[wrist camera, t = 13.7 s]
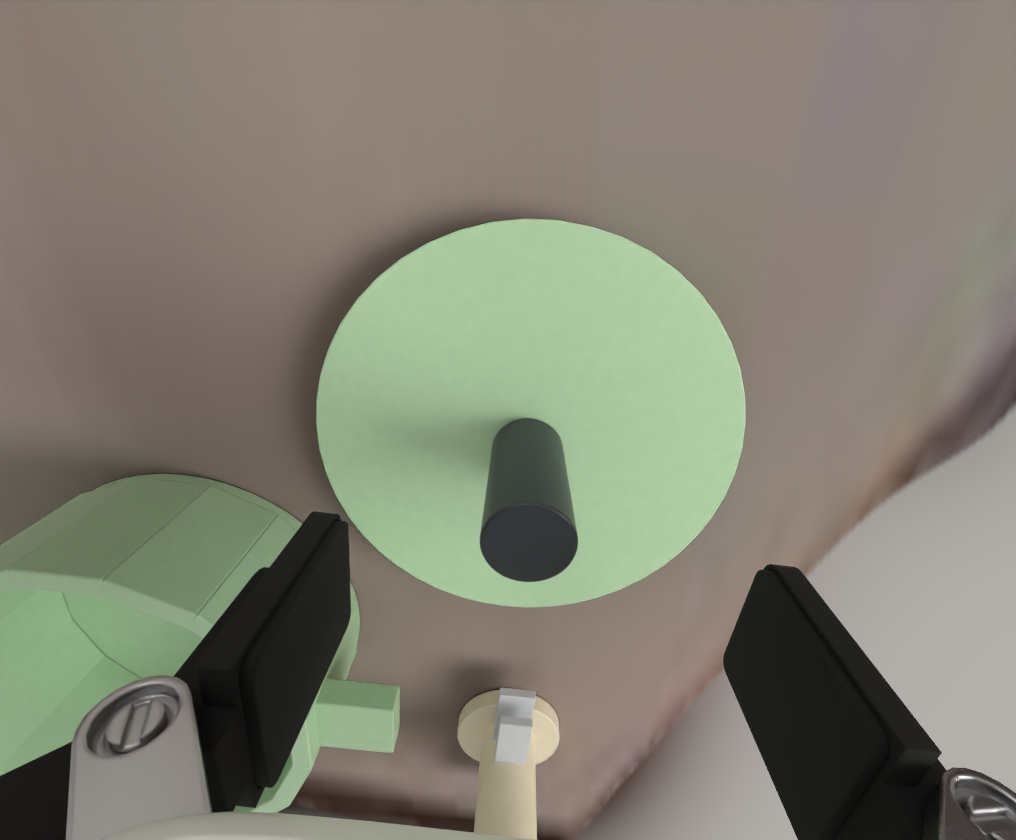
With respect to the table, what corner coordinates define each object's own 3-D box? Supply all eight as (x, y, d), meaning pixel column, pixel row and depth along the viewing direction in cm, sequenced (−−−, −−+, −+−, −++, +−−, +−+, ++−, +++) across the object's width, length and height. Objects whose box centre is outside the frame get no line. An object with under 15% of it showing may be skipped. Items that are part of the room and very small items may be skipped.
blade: (464, 659, 22) (425, 954, 13) (571, 669, 22) (602, 970, 13) (454, 767, 25) (418, 1058, 17) (546, 776, 25) (557, 1070, 17)
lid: (316, 191, 14) (173, 178, 8) (792, 246, 14) (972, 270, 8) (337, 567, 20) (263, 710, 14) (673, 602, 20) (732, 756, 14)
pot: (-62, 448, 18) (-288, 539, 13) (425, 499, 18) (388, 609, 13) (43, 683, 23) (-88, 812, 18) (416, 720, 24) (388, 857, 19)
